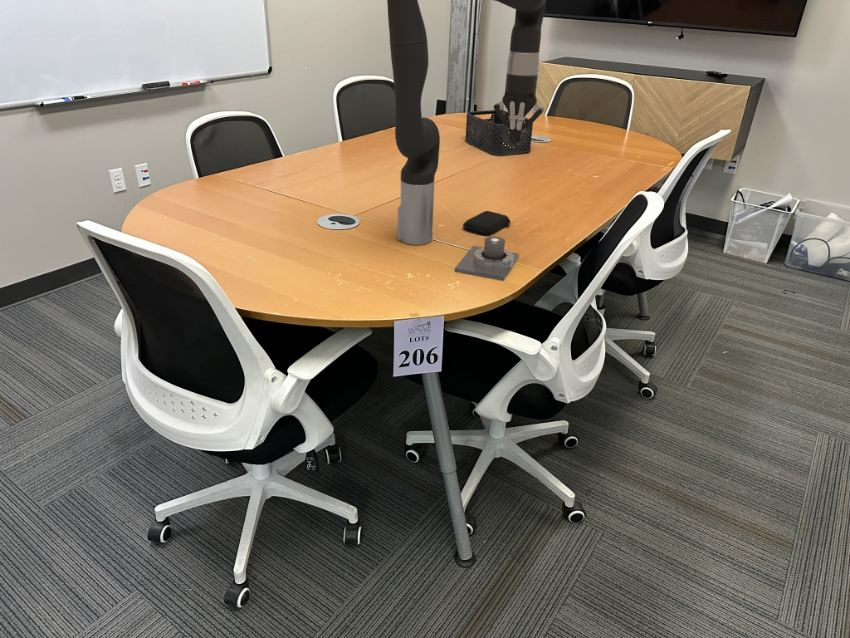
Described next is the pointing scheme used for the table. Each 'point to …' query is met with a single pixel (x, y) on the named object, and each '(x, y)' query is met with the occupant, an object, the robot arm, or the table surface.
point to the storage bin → (495, 134)
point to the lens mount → (486, 264)
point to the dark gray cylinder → (494, 248)
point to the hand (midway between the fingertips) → (515, 144)
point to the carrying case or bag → (486, 223)
